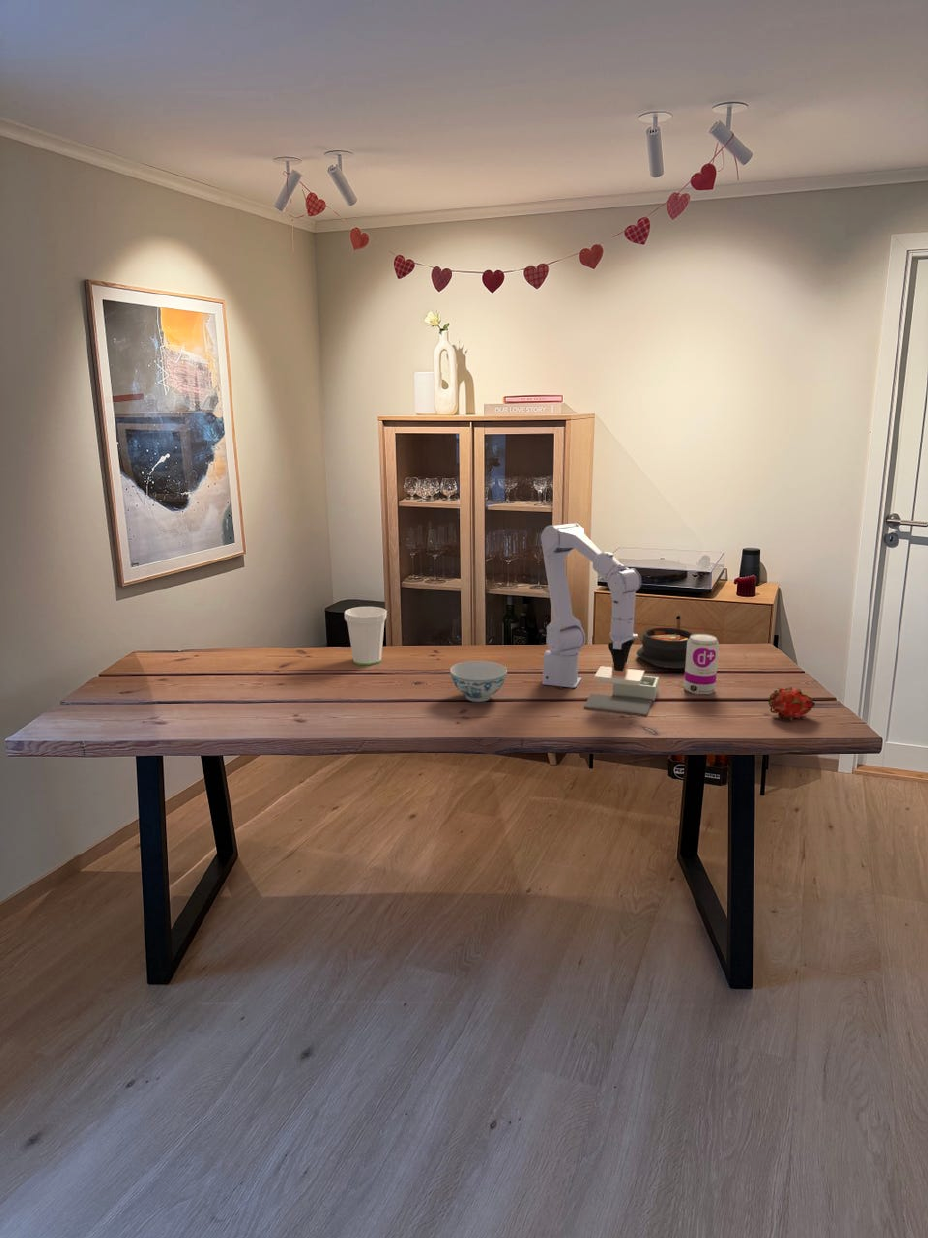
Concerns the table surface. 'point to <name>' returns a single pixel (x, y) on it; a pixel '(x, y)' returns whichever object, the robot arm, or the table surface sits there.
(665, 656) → the casserole
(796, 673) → the table surface
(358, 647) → the cup
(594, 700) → the mat
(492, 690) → the chinaware
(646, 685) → the storage box
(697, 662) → the supplement can
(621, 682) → the lid
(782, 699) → the dragon fruit
